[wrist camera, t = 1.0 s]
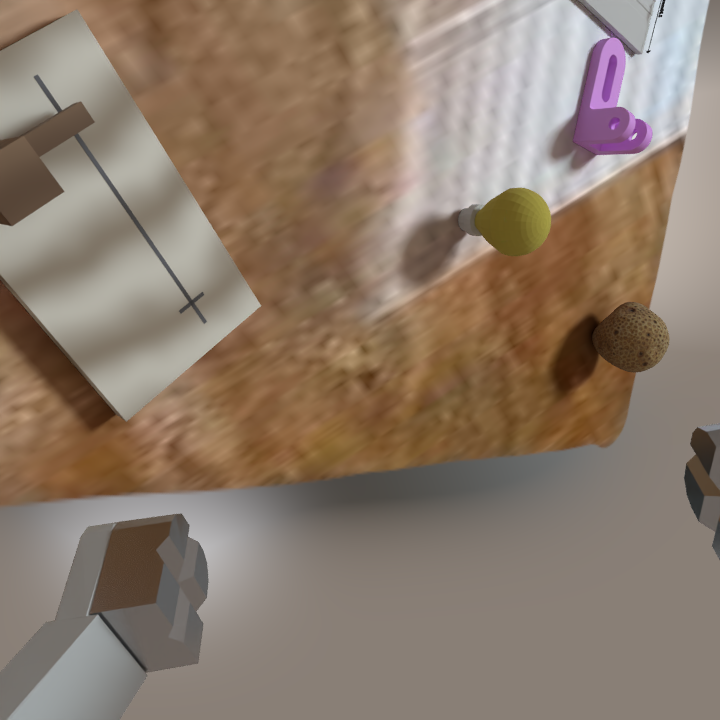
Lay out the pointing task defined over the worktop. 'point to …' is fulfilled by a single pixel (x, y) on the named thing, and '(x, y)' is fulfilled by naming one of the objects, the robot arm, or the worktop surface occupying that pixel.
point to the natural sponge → (631, 338)
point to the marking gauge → (35, 163)
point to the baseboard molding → (625, 19)
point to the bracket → (608, 106)
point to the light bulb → (509, 221)
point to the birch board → (111, 230)
